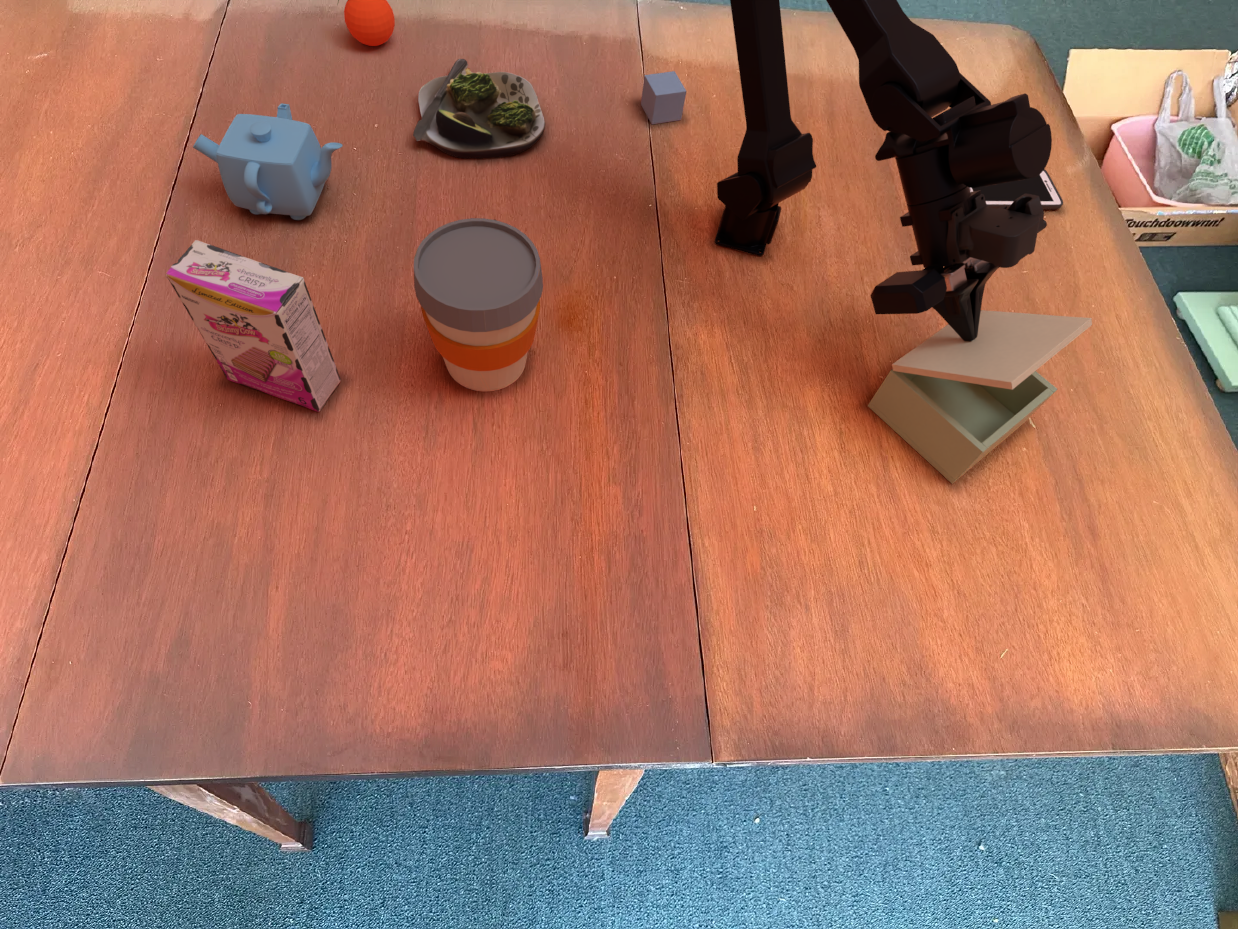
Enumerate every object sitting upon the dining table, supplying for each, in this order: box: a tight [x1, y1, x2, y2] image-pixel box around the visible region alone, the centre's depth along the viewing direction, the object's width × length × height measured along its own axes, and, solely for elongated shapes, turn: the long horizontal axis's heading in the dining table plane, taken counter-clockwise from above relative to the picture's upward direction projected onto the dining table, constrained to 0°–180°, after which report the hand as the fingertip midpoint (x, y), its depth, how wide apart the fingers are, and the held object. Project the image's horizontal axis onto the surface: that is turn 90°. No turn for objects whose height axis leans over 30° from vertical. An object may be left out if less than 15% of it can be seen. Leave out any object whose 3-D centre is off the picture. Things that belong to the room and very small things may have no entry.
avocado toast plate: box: [412, 58, 546, 159], centre depth 106 cm, size 19×18×5 cm
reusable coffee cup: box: [413, 217, 544, 392], centre depth 81 cm, size 13×13×15 cm
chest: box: [867, 368, 1058, 485], centre depth 86 cm, size 13×14×7 cm
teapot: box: [192, 103, 344, 221], centre depth 93 cm, size 18×14×10 cm
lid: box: [891, 309, 1093, 390], centre depth 80 cm, size 13×14×1 cm
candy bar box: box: [165, 239, 342, 413], centre depth 76 cm, size 11×5×16 cm, turn 71°
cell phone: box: [969, 168, 1064, 210], centre depth 110 cm, size 8×15×1 cm, turn 96°
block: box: [640, 70, 687, 125], centre depth 110 cm, size 5×5×5 cm
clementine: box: [336, 0, 396, 47], centre depth 111 cm, size 8×7×7 cm
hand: (970, 339), depth 81 cm, fingers closed
